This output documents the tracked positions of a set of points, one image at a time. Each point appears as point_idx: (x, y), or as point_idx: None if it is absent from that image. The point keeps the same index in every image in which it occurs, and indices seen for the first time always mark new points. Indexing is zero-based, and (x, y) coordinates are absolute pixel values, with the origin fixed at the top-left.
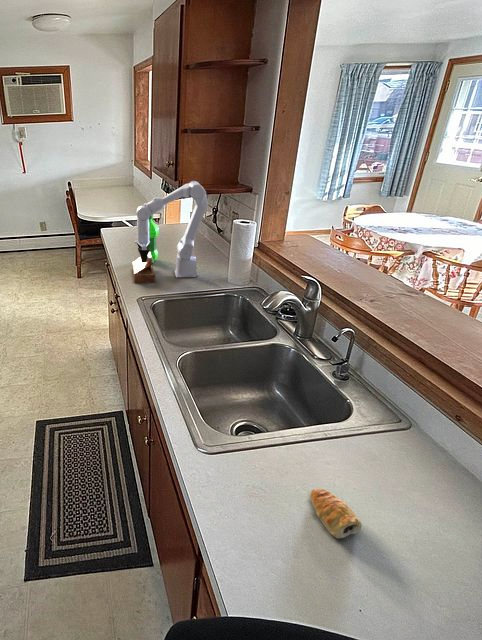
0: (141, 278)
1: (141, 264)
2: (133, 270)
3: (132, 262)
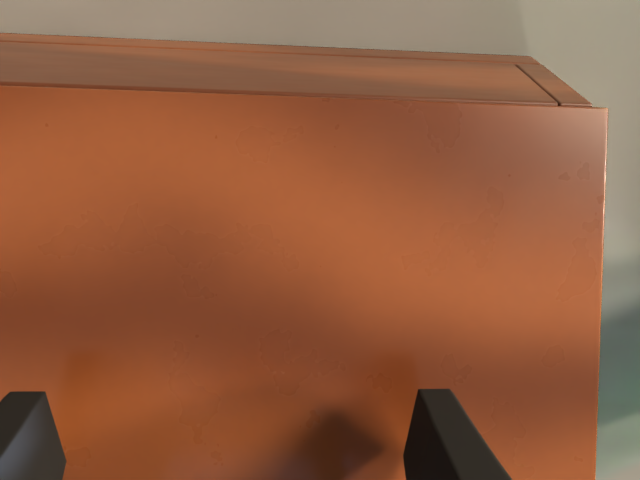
0: None
1: (144, 319)
2: (263, 78)
3: (580, 107)
